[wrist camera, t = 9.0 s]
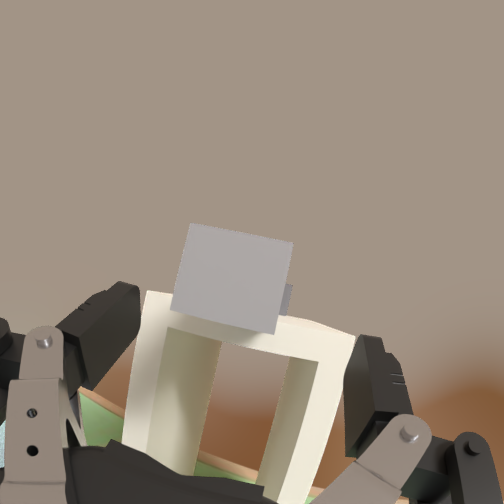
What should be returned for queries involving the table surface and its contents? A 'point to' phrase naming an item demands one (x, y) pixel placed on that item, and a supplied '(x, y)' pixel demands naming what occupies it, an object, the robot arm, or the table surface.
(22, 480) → the robot arm
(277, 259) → the grey square-ended bar
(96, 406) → the table surface
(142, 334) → the stand
